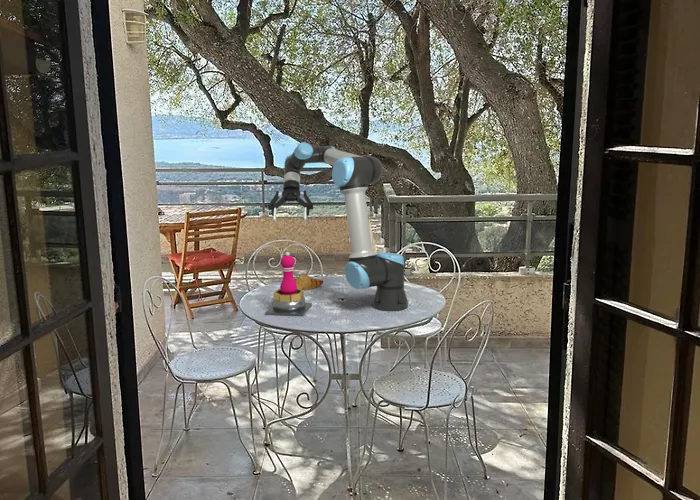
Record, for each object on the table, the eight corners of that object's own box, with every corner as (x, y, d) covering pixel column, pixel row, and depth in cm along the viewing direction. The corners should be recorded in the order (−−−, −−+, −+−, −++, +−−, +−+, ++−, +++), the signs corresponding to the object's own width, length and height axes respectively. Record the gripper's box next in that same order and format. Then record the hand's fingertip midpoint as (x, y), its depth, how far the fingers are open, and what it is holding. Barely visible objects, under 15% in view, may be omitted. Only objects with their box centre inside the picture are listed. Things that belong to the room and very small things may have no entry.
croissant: (283, 299, 294) (284, 286, 289) (277, 285, 301) (278, 272, 296) (325, 293, 301) (327, 281, 296) (318, 280, 308) (320, 267, 303)
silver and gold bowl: (311, 305, 269) (311, 287, 267) (303, 316, 253) (302, 297, 252) (276, 304, 271) (275, 286, 270) (265, 315, 256) (264, 295, 254)
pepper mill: (294, 301, 257) (293, 253, 254) (278, 300, 259) (276, 253, 255) (299, 296, 264) (298, 250, 260) (283, 295, 266) (281, 250, 262)
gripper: (319, 189, 288) (318, 225, 276) (265, 189, 288) (262, 226, 276) (318, 178, 282) (317, 215, 270) (263, 179, 282) (260, 216, 270)
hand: (290, 221), depth 273 cm, fingers open, 13 cm apart
